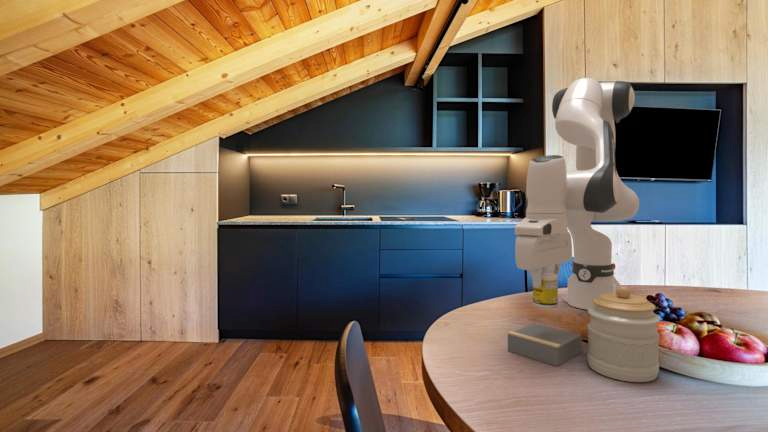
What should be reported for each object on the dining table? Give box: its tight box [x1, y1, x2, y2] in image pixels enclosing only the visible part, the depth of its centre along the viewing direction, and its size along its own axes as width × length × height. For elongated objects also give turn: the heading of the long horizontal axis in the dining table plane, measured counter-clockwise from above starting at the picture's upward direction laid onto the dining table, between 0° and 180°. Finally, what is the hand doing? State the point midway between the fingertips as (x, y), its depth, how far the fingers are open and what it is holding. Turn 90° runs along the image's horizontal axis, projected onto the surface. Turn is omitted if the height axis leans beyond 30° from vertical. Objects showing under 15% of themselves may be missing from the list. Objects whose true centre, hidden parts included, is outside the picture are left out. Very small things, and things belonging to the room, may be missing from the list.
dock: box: [507, 323, 583, 367], centre depth 95 cm, size 12×12×4 cm
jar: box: [586, 285, 661, 383], centre depth 85 cm, size 13×13×18 cm
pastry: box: [579, 322, 590, 342], centre depth 104 cm, size 9×7×4 cm
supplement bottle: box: [532, 264, 559, 309], centre depth 94 cm, size 5×5×10 cm
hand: (545, 284), depth 94 cm, fingers closed on supplement bottle, 5 cm apart
